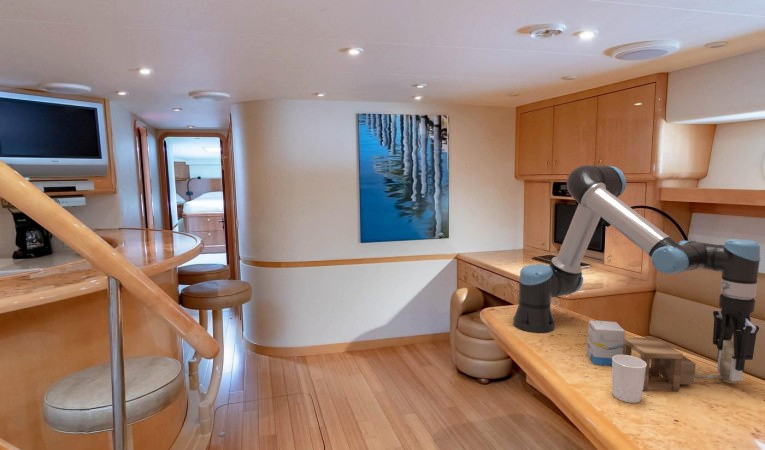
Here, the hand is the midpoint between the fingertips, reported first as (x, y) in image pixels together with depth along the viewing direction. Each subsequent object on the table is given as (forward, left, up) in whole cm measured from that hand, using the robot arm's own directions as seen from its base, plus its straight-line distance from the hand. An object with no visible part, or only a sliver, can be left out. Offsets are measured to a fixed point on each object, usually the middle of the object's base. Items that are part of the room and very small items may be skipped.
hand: (729, 376), depth 120 cm
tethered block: (0, -8, -1) cm, 8 cm away
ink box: (-14, -28, -3) cm, 31 cm away
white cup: (+8, -33, -3) cm, 34 cm away
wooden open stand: (0, -22, -2) cm, 22 cm away
